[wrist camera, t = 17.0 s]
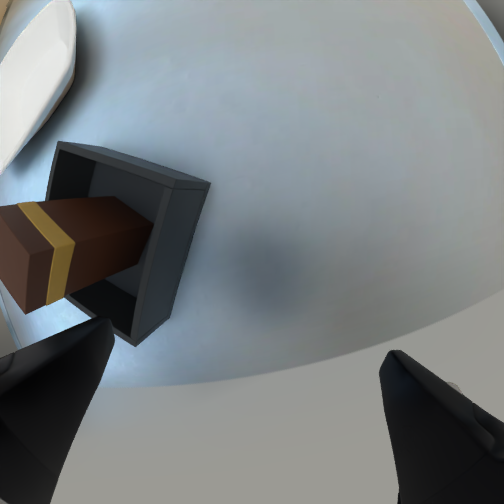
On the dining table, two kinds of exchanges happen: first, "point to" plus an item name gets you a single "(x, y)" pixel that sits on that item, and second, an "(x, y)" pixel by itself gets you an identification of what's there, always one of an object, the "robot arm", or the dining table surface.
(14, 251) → the chocolate carton
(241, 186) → the dining table surface
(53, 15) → the bowl
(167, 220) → the open storage bin
